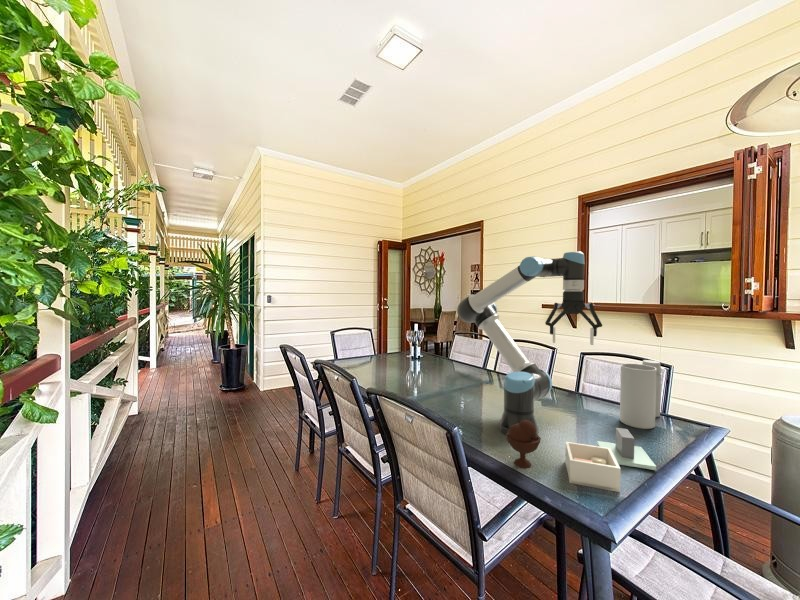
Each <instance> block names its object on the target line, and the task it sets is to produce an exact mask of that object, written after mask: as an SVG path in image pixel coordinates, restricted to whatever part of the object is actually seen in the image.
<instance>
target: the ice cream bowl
mask: <svg viewBox="0 0 800 600" xmlns="http://www.w3.org/2000/svg"><path fill="white" fill-rule="evenodd" d="M505 438H506V440H507V443H508V444H509V445H510V447H511V448H512V449H513V450H514V451H516V452H517V453H519V458H516V459H515V460H513V463H514V465H515V466H517V467H519V468H522V469H529V468H531V467H532V463H531V462H530V460H528V459H527V458H526V457H527V455H526V454H531V453H533V452H534V451H536V450H537V448H538V447H539V445H540V443H541V441H542V438H541V437H540V436H539V434H538V435H537V433H536V427H535V425H534V424H533V423H532V422H531V421H529V420H523V421H521V422H520V423H516V424H514V425H512V426H511V427H510V429H509V431H508V432H507V433H506V434H505Z"/></svg>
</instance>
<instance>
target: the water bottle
mask: <svg viewBox="0 0 800 600" xmlns="http://www.w3.org/2000/svg"><path fill="white" fill-rule="evenodd" d="M641 365H648V366H652V367H655V368H656V409H655V418H659V417H660V416H661V399H662V398H661V397H662V392H661V391H662V373H663V372H662V367H661V362H660V361H658V360H653V359H648V360H647V359H643V360H642V363H641Z"/></svg>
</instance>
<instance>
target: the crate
mask: <svg viewBox="0 0 800 600" xmlns="http://www.w3.org/2000/svg"><path fill="white" fill-rule="evenodd" d="M564 455H565V457H564V458H565V459H564V461H565V462H564V463H565V467H566V471H567V476H568V480H569V484H575V485H580V486H586V487H589V488H590V487H592V488H596V489H601V490H606V491H613V492H617V493H620V492H621V469H622V468H621V467H620V465H619V464H618V463H617V461H616V459H615V457H614V455H613V453H612V451H611V449H610V448H605V447H599V446H598V445H591V444H586V443H585V444H583V443H579V442H578V443H577V442H570V441H565V454H564Z"/></svg>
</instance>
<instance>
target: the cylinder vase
mask: <svg viewBox="0 0 800 600" xmlns="http://www.w3.org/2000/svg"><path fill="white" fill-rule="evenodd" d="M619 390H620V392H619V393H620V394H619V395H620V396H619V397H620V398H619V420H620V422H621V423H623V424H624V425H625V426H628V427H632V428H636V429H639V430H641V429H642V430H650V429H654V428H655V427H656V417H655V409H656V368H655V367H652V366H648V365H642V363H640V364H639V363H622V364H621V365H620V389H619Z"/></svg>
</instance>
